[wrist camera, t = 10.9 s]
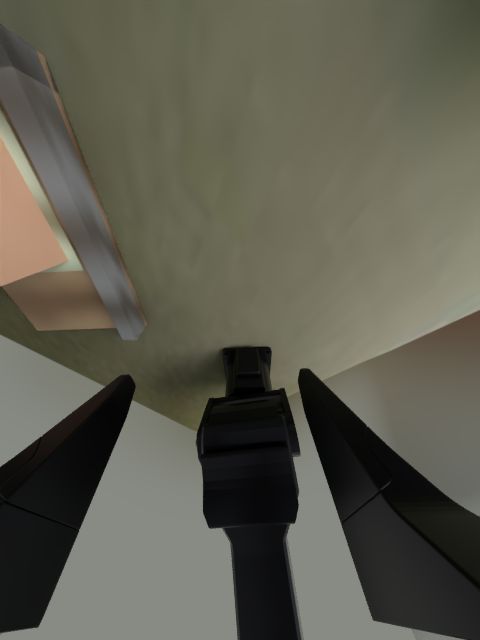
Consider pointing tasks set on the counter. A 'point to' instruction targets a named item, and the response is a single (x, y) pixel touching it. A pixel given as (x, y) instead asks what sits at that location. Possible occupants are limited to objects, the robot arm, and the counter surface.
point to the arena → (61, 206)
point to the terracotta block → (22, 227)
